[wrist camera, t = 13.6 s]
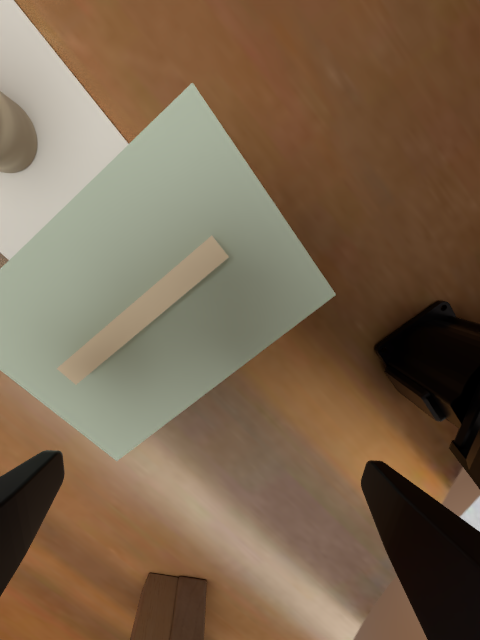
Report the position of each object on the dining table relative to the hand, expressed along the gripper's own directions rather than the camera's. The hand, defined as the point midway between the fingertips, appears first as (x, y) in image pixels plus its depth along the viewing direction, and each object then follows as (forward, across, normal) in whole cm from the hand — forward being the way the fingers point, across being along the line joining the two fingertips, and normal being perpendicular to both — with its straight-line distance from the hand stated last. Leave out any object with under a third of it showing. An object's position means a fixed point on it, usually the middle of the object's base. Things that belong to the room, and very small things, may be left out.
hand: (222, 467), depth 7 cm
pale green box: (+12, +9, -2) cm, 15 cm away
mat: (+12, +14, -11) cm, 22 cm away
